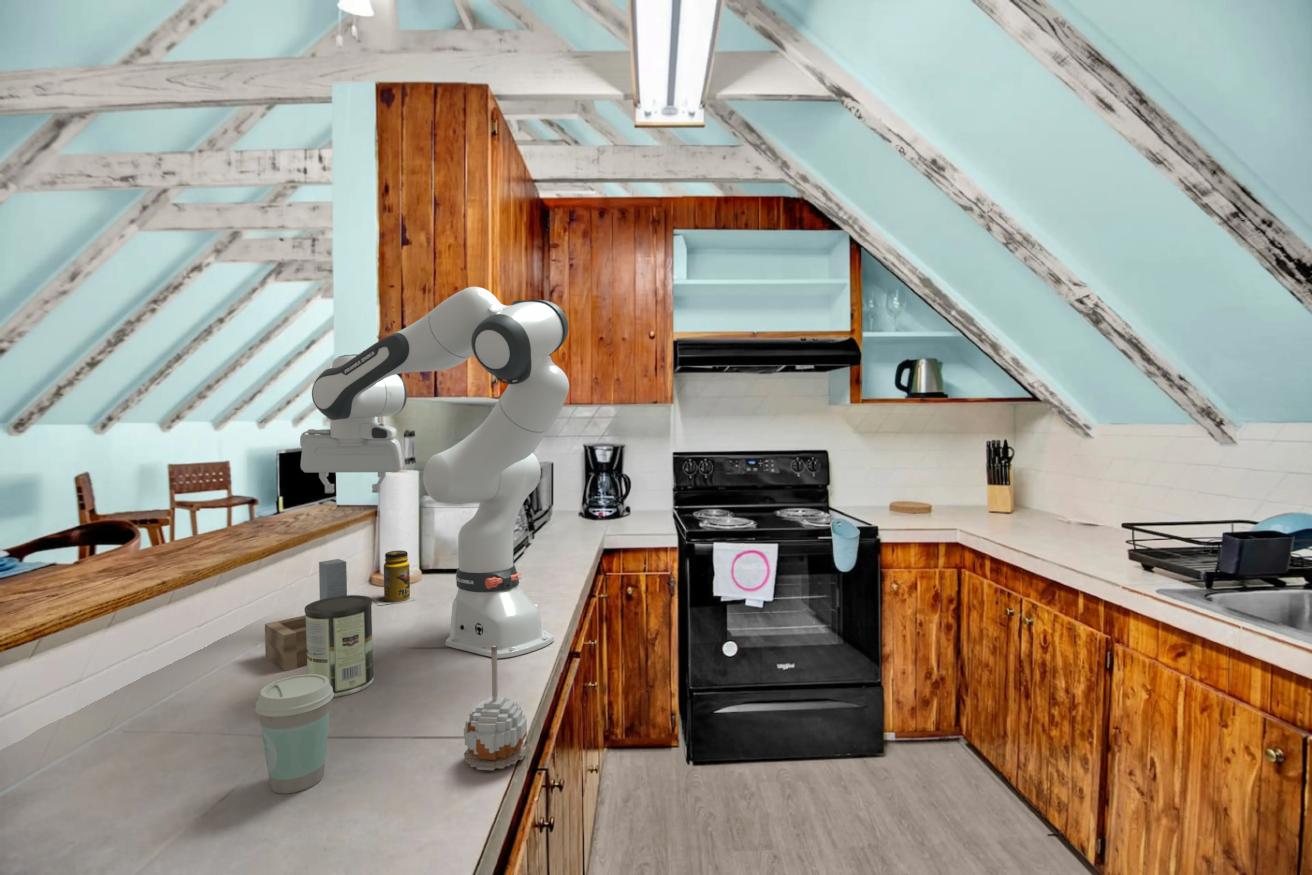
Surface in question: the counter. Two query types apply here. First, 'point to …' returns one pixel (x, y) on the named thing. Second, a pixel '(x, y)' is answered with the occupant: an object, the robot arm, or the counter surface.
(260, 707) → the coffee cup
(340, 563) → the steel bar
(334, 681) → the coffee can
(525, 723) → the voxel caramel apple
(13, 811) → the counter surface
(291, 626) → the walnut holder
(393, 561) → the condiment
